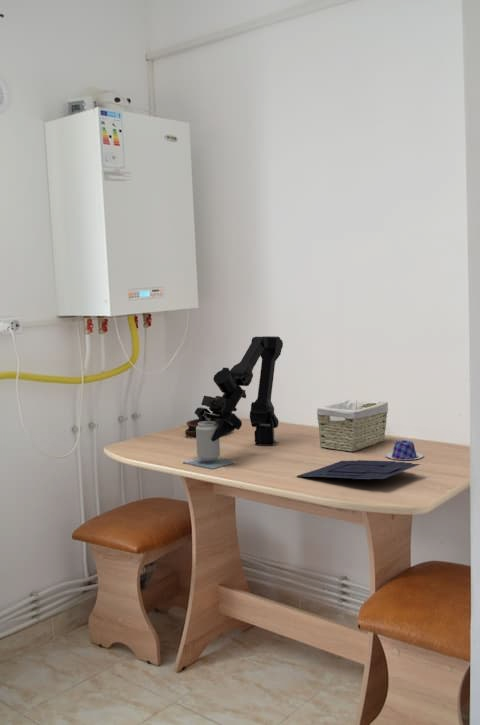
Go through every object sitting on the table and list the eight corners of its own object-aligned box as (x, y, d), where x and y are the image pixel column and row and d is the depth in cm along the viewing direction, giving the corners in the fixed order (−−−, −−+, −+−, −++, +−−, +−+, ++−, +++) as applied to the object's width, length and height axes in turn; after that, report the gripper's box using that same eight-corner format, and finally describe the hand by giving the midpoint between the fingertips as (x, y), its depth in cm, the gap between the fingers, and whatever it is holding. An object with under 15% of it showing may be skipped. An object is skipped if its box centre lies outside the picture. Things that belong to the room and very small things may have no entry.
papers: (380, 490, 210) (379, 477, 209) (296, 485, 230) (294, 473, 230) (425, 471, 227) (424, 459, 227) (343, 468, 248) (342, 457, 248)
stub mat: (234, 463, 250) (234, 461, 250) (213, 469, 242) (213, 467, 242) (204, 457, 259) (204, 455, 259) (182, 463, 252) (182, 461, 252)
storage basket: (352, 436, 285) (351, 397, 284) (390, 441, 275) (390, 400, 273) (315, 448, 267) (314, 406, 266) (355, 454, 257) (354, 411, 255)
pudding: (429, 460, 247) (429, 444, 246) (395, 463, 244) (395, 447, 243) (412, 452, 258) (412, 436, 258) (379, 455, 255) (379, 439, 255)
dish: (245, 432, 300) (244, 419, 299) (203, 441, 285) (202, 428, 284) (215, 426, 313) (215, 414, 312) (173, 435, 297) (172, 423, 297)
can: (217, 461, 246) (215, 424, 245) (194, 460, 248) (193, 424, 246) (222, 455, 254) (220, 419, 252) (200, 455, 255) (198, 419, 254)
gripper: (197, 383, 257) (172, 421, 252) (233, 388, 243) (208, 428, 238) (216, 403, 264) (192, 440, 258) (252, 409, 249) (228, 448, 244)
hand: (204, 439), depth 249 cm, fingers closed on can, 7 cm apart
